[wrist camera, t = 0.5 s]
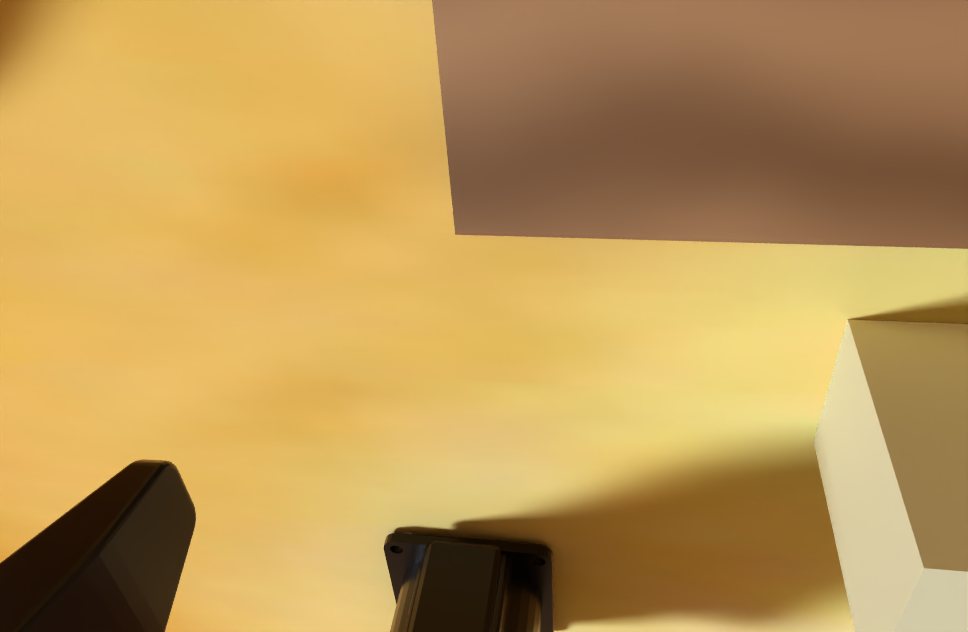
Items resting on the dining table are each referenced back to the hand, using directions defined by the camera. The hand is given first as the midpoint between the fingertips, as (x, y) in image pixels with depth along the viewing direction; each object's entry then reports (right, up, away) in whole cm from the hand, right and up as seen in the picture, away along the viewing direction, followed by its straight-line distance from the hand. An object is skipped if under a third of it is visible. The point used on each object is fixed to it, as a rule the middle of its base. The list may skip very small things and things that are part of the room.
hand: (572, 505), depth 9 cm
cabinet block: (+12, 0, +15) cm, 19 cm away
